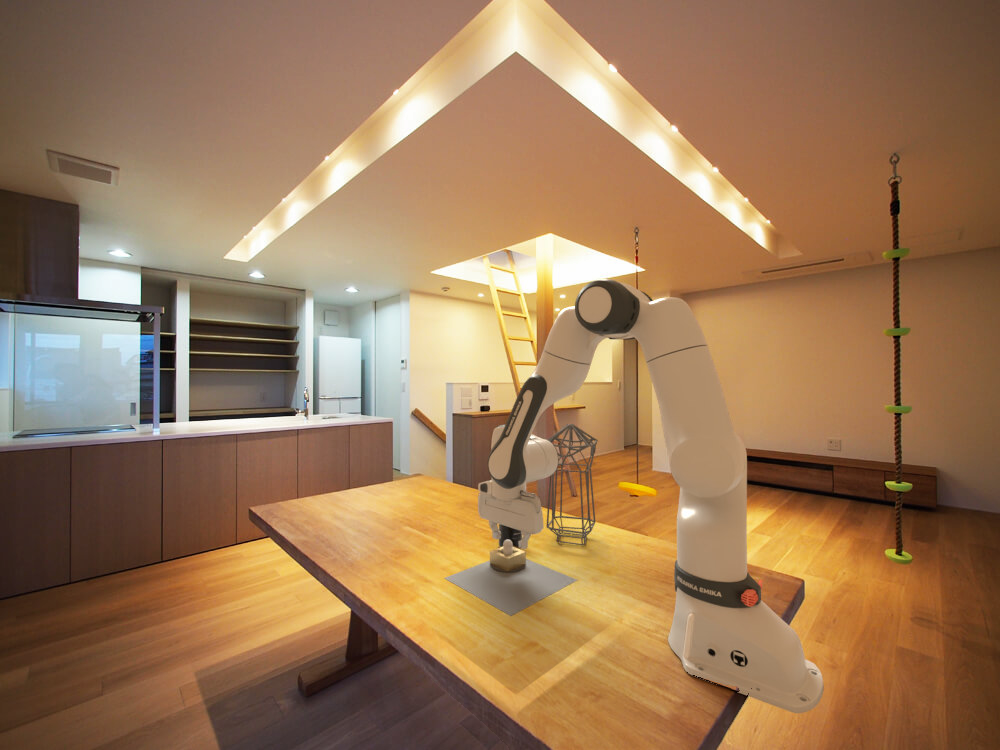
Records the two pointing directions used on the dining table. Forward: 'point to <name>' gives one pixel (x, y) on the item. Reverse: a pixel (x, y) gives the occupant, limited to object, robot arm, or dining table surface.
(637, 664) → the dining table surface
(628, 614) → the dining table surface
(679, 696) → the dining table surface
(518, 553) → the wooden collar
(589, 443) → the geometric lantern
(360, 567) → the dining table surface
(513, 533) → the supplement bottle
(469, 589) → the post board
